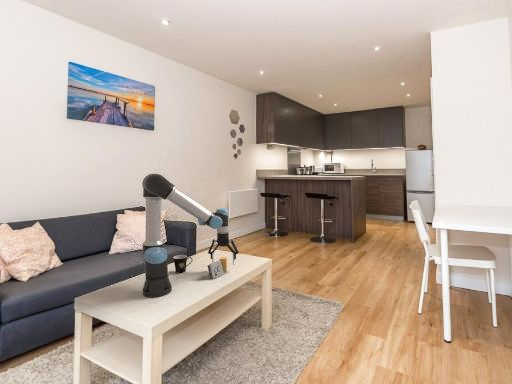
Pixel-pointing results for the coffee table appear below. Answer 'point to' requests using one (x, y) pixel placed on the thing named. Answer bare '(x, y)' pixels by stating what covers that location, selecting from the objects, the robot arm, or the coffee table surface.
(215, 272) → the electrical switch
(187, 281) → the coffee table surface
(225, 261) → the yellow upright square block
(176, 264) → the coffee mug
